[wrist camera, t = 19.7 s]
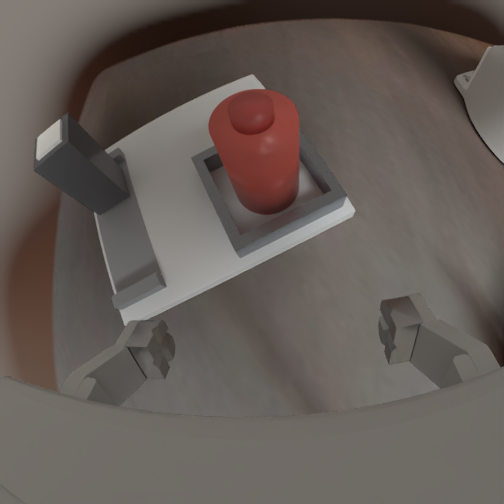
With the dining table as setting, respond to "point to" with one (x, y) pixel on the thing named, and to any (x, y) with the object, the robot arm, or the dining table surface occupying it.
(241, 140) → the lockout cap
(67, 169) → the switch knob
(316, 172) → the socket
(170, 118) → the panel
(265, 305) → the dining table surface
